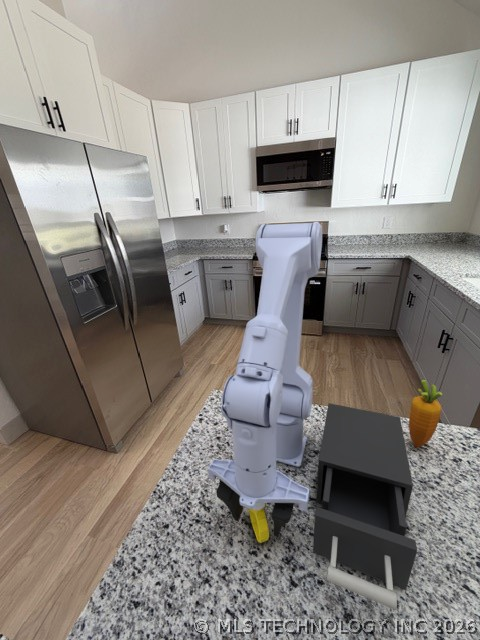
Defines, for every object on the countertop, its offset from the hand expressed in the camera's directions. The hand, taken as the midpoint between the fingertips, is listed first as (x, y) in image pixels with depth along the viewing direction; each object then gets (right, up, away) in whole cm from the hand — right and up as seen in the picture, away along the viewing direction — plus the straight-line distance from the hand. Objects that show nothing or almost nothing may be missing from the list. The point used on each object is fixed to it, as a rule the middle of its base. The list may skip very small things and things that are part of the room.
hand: (257, 522), depth 42 cm
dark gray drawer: (+14, -1, -2) cm, 14 cm away
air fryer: (+19, +2, +8) cm, 20 cm away
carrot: (+33, +5, +14) cm, 36 cm away
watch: (0, -2, +1) cm, 2 cm away
